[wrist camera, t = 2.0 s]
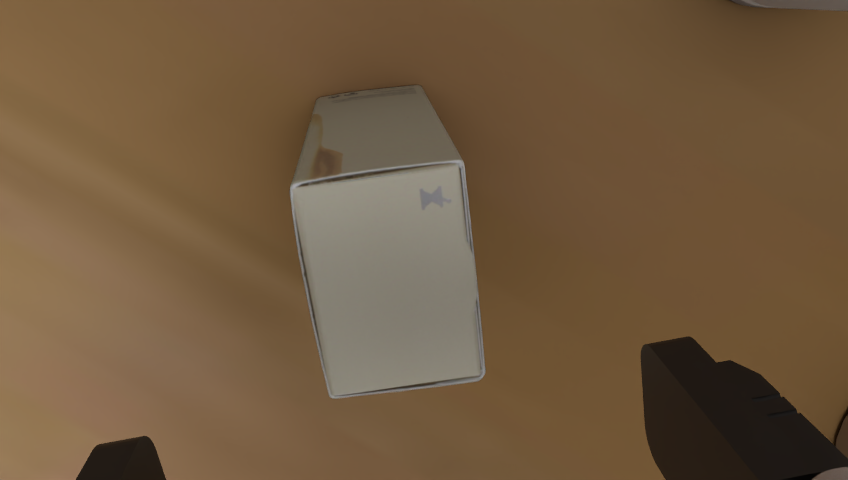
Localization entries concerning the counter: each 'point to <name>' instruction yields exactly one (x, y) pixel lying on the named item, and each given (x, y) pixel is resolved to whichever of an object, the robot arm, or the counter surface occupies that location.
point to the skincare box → (386, 245)
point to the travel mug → (798, 4)
